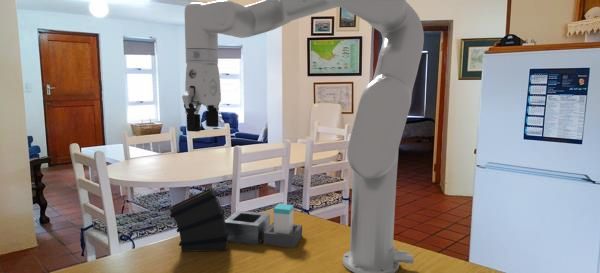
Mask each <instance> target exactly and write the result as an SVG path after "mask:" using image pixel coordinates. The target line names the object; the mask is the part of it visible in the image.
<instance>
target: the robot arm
mask: <svg viewBox="0 0 600 273" xmlns="http://www.w3.org/2000/svg"><path fill="white" fill-rule="evenodd" d="M338 7H340V8H341V9H342V10H344V11H346V12H349V13H351V15H352V14H353V15H355V16H357V17H358V18H360V19H362V20H363V21H365V22H367V23H368V24H369V26H371V27H372V28H373V29H375V30H377V31H378V32H379V33H380V34H381V39H382V44H381V48H380V51H379V53H378V58H377V63H376V67H375V71H374V75H373V76H372V78H373V79H372V80H371V81H370V82H369V83H368V84H367V85H366V86H365V88H364V89H363V91H362V93H361V95H360V98H359V102H358V105H357V111H356V112H355V113H356V114H355V118H354V122H353V126H352V129H351V134H350V136H349V141H348V144H347V149H346V156H347V161H348V164H349V166H350V168H351V170H352V171H353V172H352V183H351V184H352V185H351V209H350V210H351V211H350V212H351V213H350V238H349V241H350V243H349V251H347V252H345V253H344V254H343V256H342V264H343V266H344V267H345V268H346V269H347V270H348V271H350V272H352V273H397V271H398V270H399V268H400V263H405V264H408V265H410V264H411V265H414V257H415V256H414V254H409V251H408V250H399V249H398V248H395V245H396V244H395V242H394V235H395V234H394V231H395V212H396V211H395V210H396V195H397V176H398V162H399V147H400V145H401V141H402V137H403V134H404V129H405V126H406V123H407V119H408V116H409V112H410V108H411V106H412V105H411V104H412V98H413V97H412V96H413V90H414V87H415V82H416V79H417V75H418V70H419V65H420V61H421V59H422V54H423V50H424V42H425V41H424V40H425V34H424V27H423V24H422V21H421V19H420V17H419V15H418V13H417V12H416V11H415V9H414V8H413V7H412V6H411V5H410V4H409V3H408V1H407V0H261V1H258V2H255V3H251V4H248V5H242V4H240V3H238V2H234V1H232V0H215V1H211V2H207V3H206V2H191V3H188V4H186V5H185V7H184V40H185V41H184V43H185V64H186V66H185V67H186V69H185V84H184V86H185V89H184V90H185V92H184V94H182V98H181V99H182V102H183V107H184V109H185V110H184V111H185V112H184V113H185V114H186V131H187V132H197V133H199V132H200V131H201V114H200V113H199V112H200V109H201V106H202V105H203V106H204V107H206V110H205V125H206V127H210V128H211V127H212V128H217V127H219V110H220V107H219V105H220V103H221V101H222V94H221V91H222V90H221V78H220V77H221V76H220V69H219V65H218V64H219V48H218V47H219V42H218V37H219V36H218V34H219V35H220V34H221V35H224V36H231V37H234V38H240V39H243V38H245V39H246V38H251V37H254V36H258V35H261V34H265V33H269V32H271V31H273V30H276V29H278V28H280V27H283V26H285V25H287V24H290V23H291V22H293V21H295V20H298V19H301V18H305V17H308V16H312V15H315V14H318V13H322V12H325V11H329V10H332V9H336V8H338Z"/></svg>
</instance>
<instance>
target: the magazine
mask: <svg viewBox="0 0 600 273" xmlns="http://www.w3.org/2000/svg"><path fill="white" fill-rule="evenodd" d="M217 194H218V192H217V190H214V189H213V187H209V188H208V189H205V190H203V191H201V192H198V193H197V194H194V195H193V196H191V197H189V198H186V199H184V200H182V201H180V202H178V203H176V204H173V205H172V206H171V207H170V208H169V212H170V215H169V217H170V218H171V219H174V221H175V224H176V226H177V229H176V232H177V233H179V237H180V238H179V239H180V241H179V243H178V247H180V250H181V252H219V251H220V252H225V251H227V248H228V241H227V239H228V232H226V224H225V220H226V219H225V217H224V215H225V210H224V208H223V209H222V207H221V203H220V201H219V198H218V197H217Z"/></svg>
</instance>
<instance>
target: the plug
mask: <svg viewBox="0 0 600 273" xmlns="http://www.w3.org/2000/svg"><path fill="white" fill-rule="evenodd" d="M273 222H274V233H283V234H292V233H293V224H294V204H287V203H286V204H285V203H278V204H276V205H275V206H274V208H273Z"/></svg>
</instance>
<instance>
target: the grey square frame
mask: <svg viewBox="0 0 600 273" xmlns="http://www.w3.org/2000/svg"><path fill="white" fill-rule="evenodd" d="M302 237H303V225H302V224H294V223H293V233H292V234H283V233H274V221H272V223H270V227H269V228H268V229H267V230H266V231H265V232H264V239H263V245H267V246H276V247H282V248H284V247H285V248H291V249H292V248H293V249H295V247H297V245H298V243H299V241H300V240H301V239H302Z"/></svg>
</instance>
